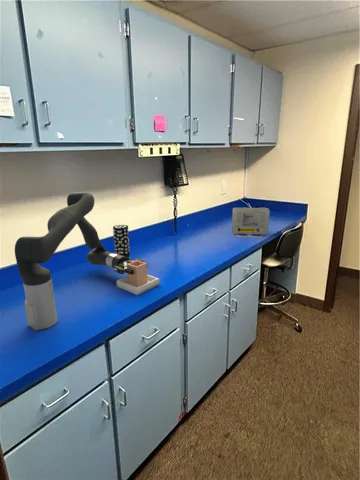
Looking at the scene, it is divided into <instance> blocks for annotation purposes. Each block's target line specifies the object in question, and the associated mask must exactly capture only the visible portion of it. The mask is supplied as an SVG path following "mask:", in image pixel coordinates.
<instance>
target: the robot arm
mask: <svg viewBox="0 0 360 480" xmlns="http://www.w3.org/2000/svg"><path fill="white" fill-rule="evenodd" d="M94 197H95V196H94V195H93V194H92V193H90V192H86V191H79V192H70V193H68V195H67V196H66V204H67V206H65V207H63V208H60V209H58V210H57V211H55V212H54V213H53V214H52V215H51V216H50V218H49V219H48V221H47V225H46V226H47V231H48V232H47V233H46V234H45V235H42V236H22V237H19V238H18V239H17V240H16V241H15V244H14V257H15V261H16V264H17V270H18V273H19V276H20V278H21V279H22V284H23V288H24V295H25V301H24V309H25V314H26V320H27V325H28V326H29V327H30V328H31V329H32V330H34V331H36V332H37V331H39V330H43V329H44V330H45V329H48V328H52V327H53V326H54V325H55V324H57V322H58V315H57V308H56V302H55V293H54V287H53V280H52V274H51V270H49V269H48V268H45V267H44V266H41V265H40V264H45V263H48V261H50V260H51V258H52V257H53V255H54V254H55V253H56V251H57V249H58V248H59V246H60V244H61V243H62V242H63V241H64V240H65V238H66V237H67V236H68V234H70V233H71V232H72V230H74V228H75V227H76V226H78V228H79V230H80V232H81V234H82V235H81V236H83V240H84V243H85V246H86V247H87V249H91V250H90V251H89V252H87V254H86V261H88V263H90V264H92V265H94V266H107V267H109V268H111V269H113V271H114V272H115V273H117V274H119V275H124V274H127V273H128V274H131V275H133V274H134V270H132V269H129V268H127V264H128V263H131V262H134V261H136V260H138V261H141V262H144V263H145V261H144V260H143V259H140V258H139V259H138V258H134V259H133V260H131V259H130V260H129V259H128V258H127V257H126V256H122V255H119V254H115V252H111V251H107V250H106V249H107V248H105V246H104V245H103V244H102V242H101V240H100V238H99V234H98V231H97V230H96V228H95V227H94V225H93V224H92V223H90V222H89V220H88V219H86V218H85V217H86V216H87V215H88V214H90V213H91V211H92V210H93V209H94V206H95V198H94ZM128 274H127V275H128Z"/></svg>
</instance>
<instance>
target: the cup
mask: <svg viewBox="0 0 360 480" xmlns="http://www.w3.org/2000/svg"><path fill="white" fill-rule="evenodd" d="M133 261H134V260H133ZM127 268H129V269H132V270H134V274H133V275H131V274H128V273H126V274H127V276H128V284H130V285H132V286H135V287H140V286H142V285H144V284H146V283H148V282H147V275H148V264H147V262H145V261H144V262H141V261H138V260H136V261H134V262H131V263H128V264H127Z"/></svg>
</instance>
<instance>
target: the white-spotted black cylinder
mask: <svg viewBox="0 0 360 480" xmlns="http://www.w3.org/2000/svg"><path fill="white" fill-rule="evenodd" d="M112 231H113V246H114V247H113V248H114V253H115V254H119V255H122V256H126V257H127V258H128V259H129V260H131V251H130V250H131V249H130V238H129V237H130V236H129V225H127V224H117V225H114V226H113V227H112Z"/></svg>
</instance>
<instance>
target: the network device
mask: <svg viewBox="0 0 360 480" xmlns="http://www.w3.org/2000/svg"><path fill="white" fill-rule="evenodd" d="M270 213H271V211H270V208H268V207H233V208H232V216H231V217H232V219H231V232H232V233H233V234H236V237H239V238H264V235H267V234H268V233H269V229H270V228H269V226H270V225H269V224H270Z"/></svg>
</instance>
